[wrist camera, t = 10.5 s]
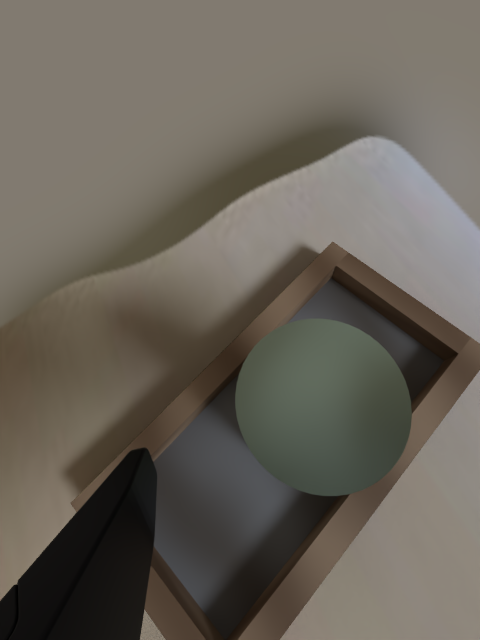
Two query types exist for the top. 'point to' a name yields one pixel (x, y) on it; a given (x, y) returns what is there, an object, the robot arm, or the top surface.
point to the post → (323, 407)
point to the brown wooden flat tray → (262, 487)
